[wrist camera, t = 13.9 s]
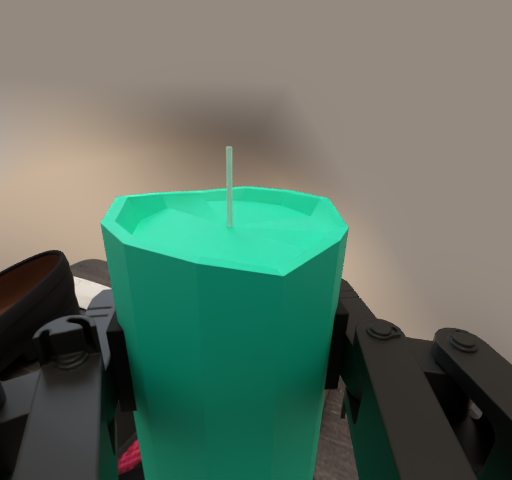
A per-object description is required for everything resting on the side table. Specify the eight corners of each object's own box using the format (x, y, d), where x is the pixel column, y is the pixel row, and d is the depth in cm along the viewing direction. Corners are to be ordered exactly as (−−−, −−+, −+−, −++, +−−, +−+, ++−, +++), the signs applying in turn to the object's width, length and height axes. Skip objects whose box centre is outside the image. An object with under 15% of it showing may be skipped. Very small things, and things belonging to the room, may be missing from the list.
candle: (116, 561, 10) (10, 163, 5) (181, 398, 15) (157, 132, 11) (316, 596, 9) (394, 181, 5) (309, 413, 15) (342, 138, 10)
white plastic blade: (116, 321, 45) (114, 314, 44) (44, 294, 51) (42, 288, 50) (142, 302, 49) (141, 296, 49) (73, 279, 55) (72, 273, 54)
